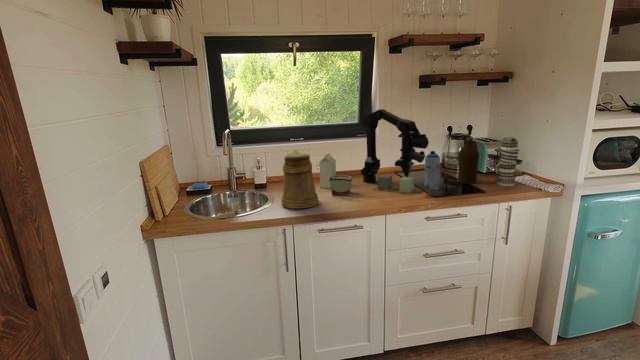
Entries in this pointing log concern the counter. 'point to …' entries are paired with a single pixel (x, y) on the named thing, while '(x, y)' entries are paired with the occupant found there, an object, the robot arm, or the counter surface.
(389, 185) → the gray block
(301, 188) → the tankard
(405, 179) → the sage cap
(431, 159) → the aerosol can
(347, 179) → the food container
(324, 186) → the milk carton
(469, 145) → the olive oil
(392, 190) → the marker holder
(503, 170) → the decorative candle
